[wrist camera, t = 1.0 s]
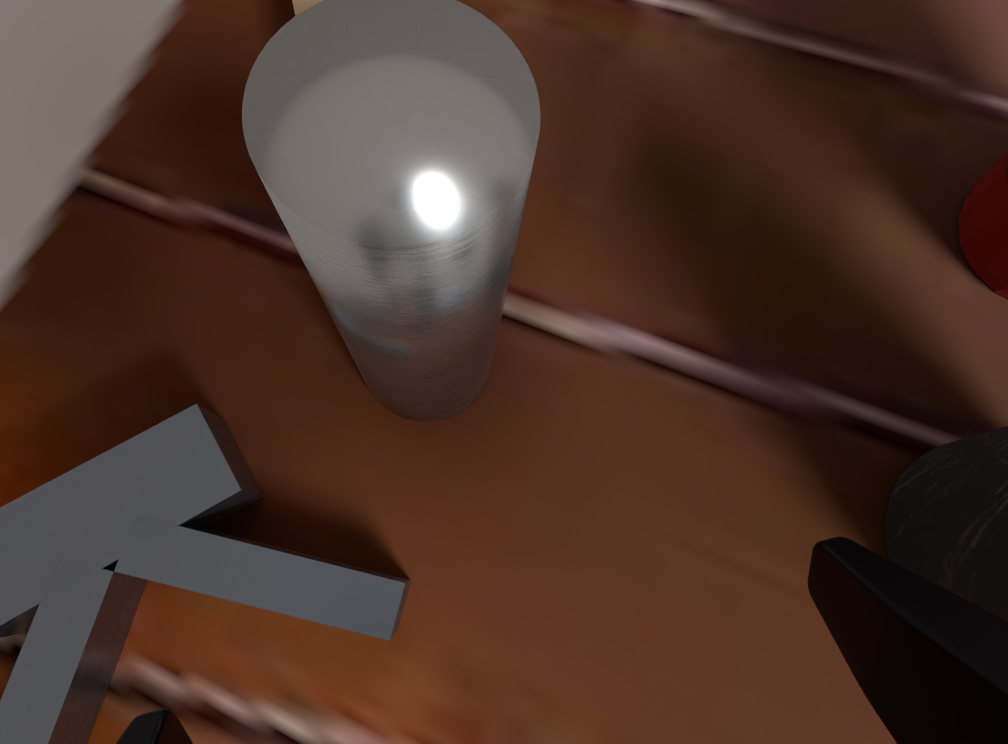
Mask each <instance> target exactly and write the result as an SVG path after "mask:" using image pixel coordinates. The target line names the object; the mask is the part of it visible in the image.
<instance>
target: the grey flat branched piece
mask: <svg viewBox="0 0 1008 744" xmlns="http://www.w3.org/2000/svg"><path fill="white" fill-rule="evenodd" d="M263 497H264V496H263V494H262V492H261V490H260V488H259V486H258V485H257V483H256V481H255V479H254V477H253V475H252V473H251V471H250V469H249V467H248V465H247V464H246V462H245V460H244V458H243V456H242V454H241V452H240V450H239V448H238V446H237V444H236V443H235V441H234V439H233V437H232V435H231V433H230V431H229V429H228V427H227V425H226V423H225V422H224V420H223V419H222V418H220V417H219V416H217V415H215V414H214V413H212V412H210V411H208V410H207V409H205V408H203V407H202V406H200V405H198V404H195V405H193V406H191V407H189V408H187V409H185V410H184V411H182V412H180V413H178V414H176V415H174V416H172V417H170V418H168V419H167V420H165V421H163V422H161V423H159V424H157V425H155V426H153V427H151V428H150V429H148V430H146V431H144V432H142V433H140V434H138V435H136V436H134V437H132V438H131V439H129V440H127V441H125V442H123V443H121V444H119V445H117V446H115V447H114V448H112V449H110V450H108V451H106V452H104V453H102V454H100V455H98V456H97V457H95V458H93V459H91V460H89V461H87V462H85V463H83V464H81V465H80V466H78V467H76V468H74V469H72V470H70V471H68V472H66V473H64V474H63V475H61V476H59V477H57V478H55V479H53V480H51V481H49V482H47V483H45V484H44V485H42V486H40V487H38V488H36V489H34V490H32V491H30V492H28V493H27V494H25V495H23V496H21V497H19V498H17V499H15V500H13V501H11V502H10V503H8V504H6V505H4V506H2V507H0V637H6V636H11V635H16V634H22V633H25V632H27V631H28V630H29V631H28V634H27V636H26V639H25V641H24V644H23V646H22V649H21V651H20V653H19V656H18V658H17V661H16V663H15V666H14V668H13V671H12V673H11V676H10V678H9V681H8V683H7V686H6V688H5V691H4V693H3V696H2V698H1V701H0V744H87V743H88V740H89V737H90V735H91V732H92V729H93V726H94V724H95V721H96V718H97V716H98V713H99V710H100V707H101V705H102V702H103V699H104V697H105V694H106V691H107V688H108V686H109V683H110V680H111V677H112V675H113V672H114V669H115V667H116V664H117V661H118V658H119V656H120V653H121V650H122V647H123V645H124V642H125V639H126V637H127V634H128V631H129V628H130V626H131V623H132V620H133V618H134V615H135V612H136V609H137V607H138V604H139V601H140V598H141V596H142V593H143V590H144V588H145V585H146V582H147V580H150V581H154V582H158V583H162V584H166V585H170V586H174V587H178V588H182V589H186V590H190V591H194V592H198V593H202V594H206V595H210V596H214V597H218V598H222V599H226V600H230V601H234V602H238V603H242V604H246V605H250V606H254V607H258V608H262V609H266V610H270V611H274V612H278V613H282V614H285V615H289V616H293V617H297V618H301V619H305V620H309V621H313V622H317V623H321V624H325V625H329V626H333V627H337V628H341V629H345V630H349V631H353V632H357V633H361V634H365V635H369V636H373V637H377V638H381V639H385V640H389V641H390V640H391V638H392V637H393V636H394V634H395V633H396V631H397V628H398V625H399V621H400V617H401V614H402V610H403V606H404V602H405V599H406V595H407V591H408V587H409V584H410V580H409V579H405V578H401V577H397V576H393V575H389V574H385V573H381V572H377V571H373V570H369V569H365V568H361V567H357V566H353V565H349V564H345V563H342V562H338V561H334V560H330V559H326V558H322V557H318V556H314V555H310V554H306V553H302V552H298V551H294V550H290V549H286V548H282V547H278V546H274V545H270V544H266V543H262V542H258V541H254V540H250V539H246V538H242V537H238V536H234V535H230V534H226V533H222V532H219V531H215V530H211V529H208V528H210V527H211V526H213V525H215V524H217V523H219V522H220V521H222V520H224V519H226V518H227V517H229V516H231V515H233V514H234V513H236V512H238V511H240V510H241V509H243V508H245V507H247V506H248V505H250V504H252V503H254V502H256V501H257V500H259V499H261V498H263Z"/></svg>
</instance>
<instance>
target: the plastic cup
mask: <svg viewBox="0 0 1008 744" xmlns="http://www.w3.org/2000/svg"><path fill="white" fill-rule="evenodd" d="M958 229H959V239H960V246H961V248H962V250H963V252H964V254H965V256H966V258H967V260H968V262H969V264H970V266H971V268H972V270H973V272H974V273H975V274H977V275H978V276H979V277H980V278H981V279H982V280H983V281H984V282H985V283H986V284H987V285H988V286H989V287H990V288H991V289H992V290H993V291H994V292H995V293H997V294H999V295H1002V296H1004V297H1006V298H1008V152H1007V153H1006V154H1005V155H1004V156H1003V157H1002V158H1001V159H1000V160H999V161H998V162H997V163H996V164H995V165H994V166H993V167H992V168H991V169H990V170H989V171H988V172H987V173H986V174H985V175H984V176H983V177H982V178H981V179H980V180H979V181H978V182H977V183H976V184H975V185H974V186H973V189H972V191H971V193H970V194H969V195H968V196H967V197H966V198H965V201H964V204H963V207H962V209H961V212H960V215H959V218H958Z"/></svg>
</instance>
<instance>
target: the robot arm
mask: <svg viewBox="0 0 1008 744" xmlns="http://www.w3.org/2000/svg"><path fill="white" fill-rule="evenodd" d="M808 588H809V592H810V595H811V597H812V599H813V601H814V603H815V605H816V607H817V609H818V610H819V612H820V614H821V616H822V618H823V620H824V622H825V623H826V625H827V627H828V629H829V631H830V633H831V634H832V636H833V638H834V640H835V642H836V644H837V645H838V647H839V649H840V651H841V653H842V655H843V657H844V658H845V660H846V662H847V664H848V666H849V668H850V669H851V671H852V673H853V675H854V677H855V679H856V680H857V682H858V684H859V686H860V687H861V689H862V691H863V693H864V694H865V696H866V698H867V699H868V701H869V702H870V704H871V705H872V707H873V708H874V710H875V712H876V713H877V714H878V716H879V717H880V719H881V720H882V722H883V723H884V725H885V726H886V728H887V729H888V731H889V732H890V734H891V735H892V737H893V738H894V740H895V741H896V743H897V744H1008V621H1006V620H1004V619H1002V618H1000V617H998V616H996V615H994V614H992V613H990V612H989V611H987V610H985V609H983V608H981V607H979V606H977V605H975V604H973V603H971V602H969V601H967V600H966V599H964V598H962V597H960V596H958V595H956V594H954V593H952V592H950V591H948V590H946V589H944V588H942V587H941V586H939V585H937V584H935V583H933V582H931V581H929V580H927V579H925V578H923V577H921V576H919V575H917V574H916V573H914V572H912V571H910V570H908V569H906V568H904V567H902V566H900V565H898V564H896V563H894V562H892V561H891V560H889V559H887V558H885V557H883V556H881V555H879V554H877V553H875V552H873V551H871V550H869V549H867V548H866V547H864V546H862V545H860V544H858V543H856V542H854V541H852V540H850V539H848V538H845V537H835V538H831V539H827V540H823V541H819V542H817V543H816V544H815V545H814V547H813V551H812V557H811V563H810V569H809V575H808ZM116 744H193V743H192V741H191V739H190V737H189V736H188V734H187V732H186V731H185V729H184V727H183V726H182V724H181V722H180V721H179V719H178V717H177V716H176V714H175V713H174V711H173V710H171V709H169V708H164V709H160V710H156V711H153V712H149V713H145V714H142V715H139V716H137V717H136V718H135V719H134V720H133V721H132V722H131V723H130V724H129V726H128V727H127V728H126V730H125V731H124V733H123V734H122V735H121V737H120V738H119V740H118V741H117V742H116Z"/></svg>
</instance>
